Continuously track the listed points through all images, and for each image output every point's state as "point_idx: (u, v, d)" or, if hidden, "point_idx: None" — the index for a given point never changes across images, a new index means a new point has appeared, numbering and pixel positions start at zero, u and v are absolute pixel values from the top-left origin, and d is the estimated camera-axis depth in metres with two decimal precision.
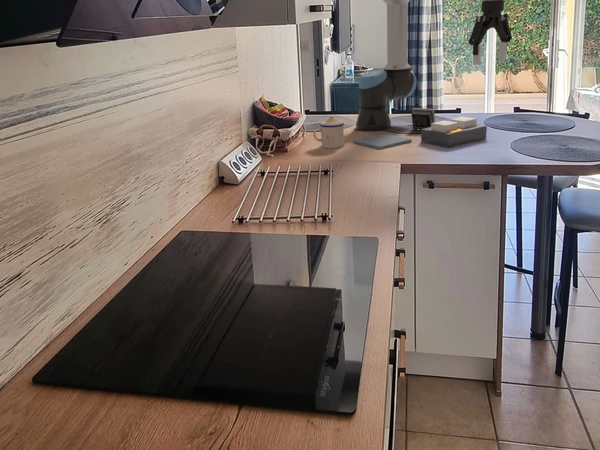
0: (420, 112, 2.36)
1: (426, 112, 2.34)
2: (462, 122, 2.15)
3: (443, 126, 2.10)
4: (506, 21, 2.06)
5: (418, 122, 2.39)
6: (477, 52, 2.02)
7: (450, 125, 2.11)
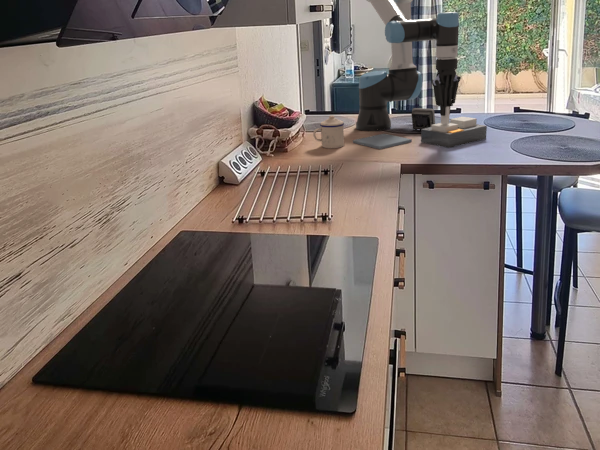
0: (420, 112, 2.36)
1: (426, 112, 2.34)
2: (462, 122, 2.15)
3: (443, 128, 2.10)
4: (457, 83, 2.10)
5: (418, 122, 2.39)
6: (444, 113, 2.11)
7: (450, 127, 2.11)
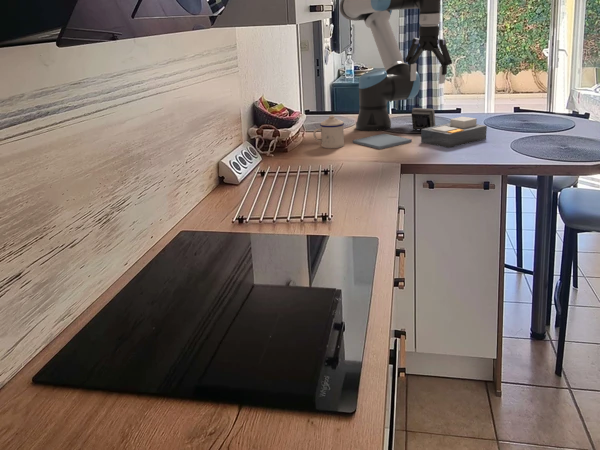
0: (420, 112, 2.36)
1: (426, 112, 2.34)
2: (462, 122, 2.15)
3: None
4: (440, 47, 2.18)
5: (418, 122, 2.39)
6: (410, 69, 2.31)
7: None
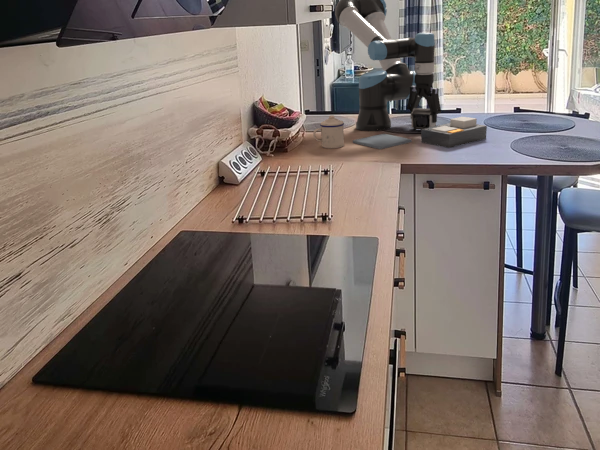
0: (420, 112, 2.35)
1: (426, 112, 2.34)
2: (462, 122, 2.15)
3: None
4: (432, 95, 2.29)
5: (418, 122, 2.39)
6: (411, 117, 2.42)
7: None
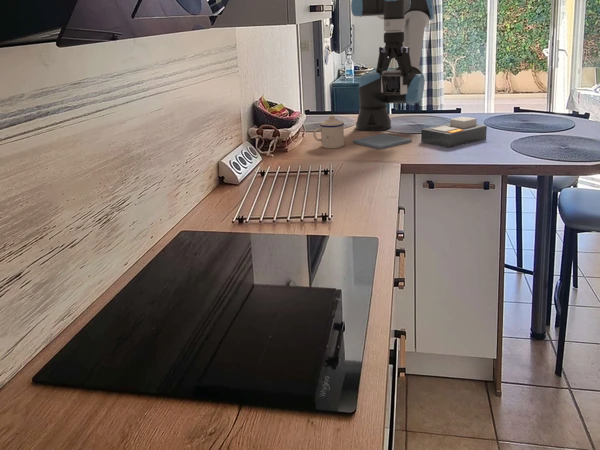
0: (391, 74, 2.17)
1: (397, 74, 2.16)
2: (462, 122, 2.15)
3: None
4: (403, 55, 2.11)
5: (389, 86, 2.20)
6: (381, 81, 2.24)
7: None
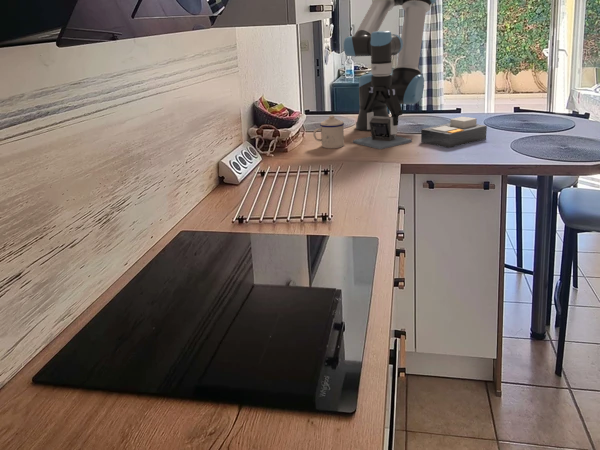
0: (379, 120, 2.18)
1: (385, 121, 2.17)
2: (462, 122, 2.15)
3: None
4: (390, 97, 2.11)
5: (377, 131, 2.22)
6: None
7: None
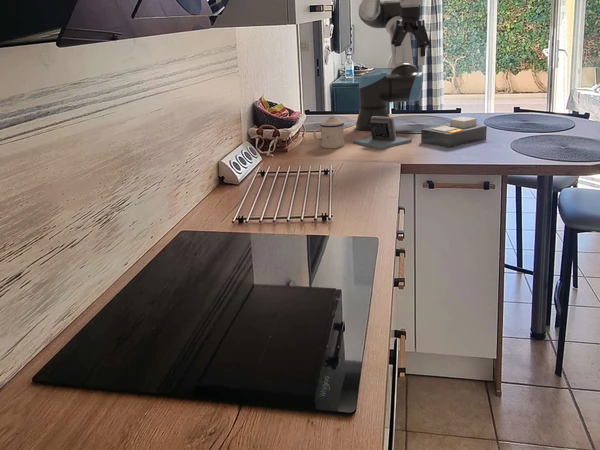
0: (379, 120, 2.19)
1: (385, 121, 2.17)
2: (462, 122, 2.15)
3: None
4: (418, 27, 2.14)
5: (377, 131, 2.22)
6: (396, 52, 2.30)
7: None
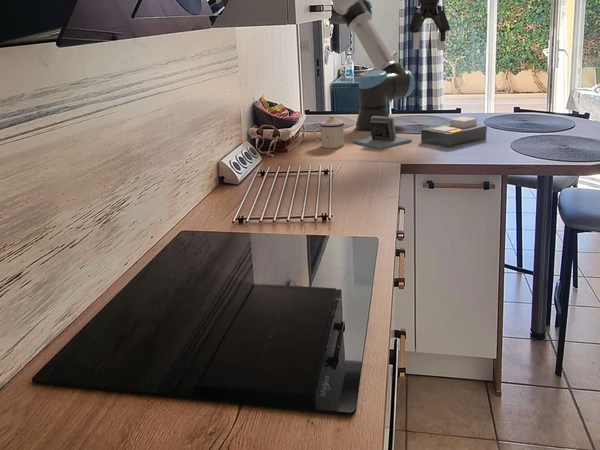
0: (379, 120, 2.19)
1: (385, 121, 2.17)
2: (462, 122, 2.15)
3: None
4: (439, 13, 2.21)
5: (377, 131, 2.22)
6: None
7: None
